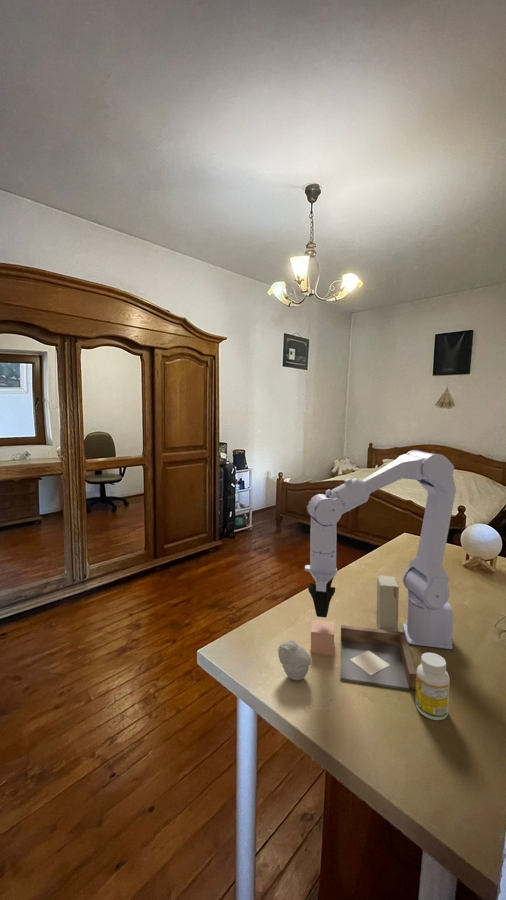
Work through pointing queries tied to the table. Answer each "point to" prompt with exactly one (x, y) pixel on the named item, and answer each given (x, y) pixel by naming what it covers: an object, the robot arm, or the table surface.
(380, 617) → the skincare box
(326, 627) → the cube
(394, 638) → the tray
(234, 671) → the table surface
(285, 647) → the frog figurine
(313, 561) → the robot arm
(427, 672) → the supplement bottle
